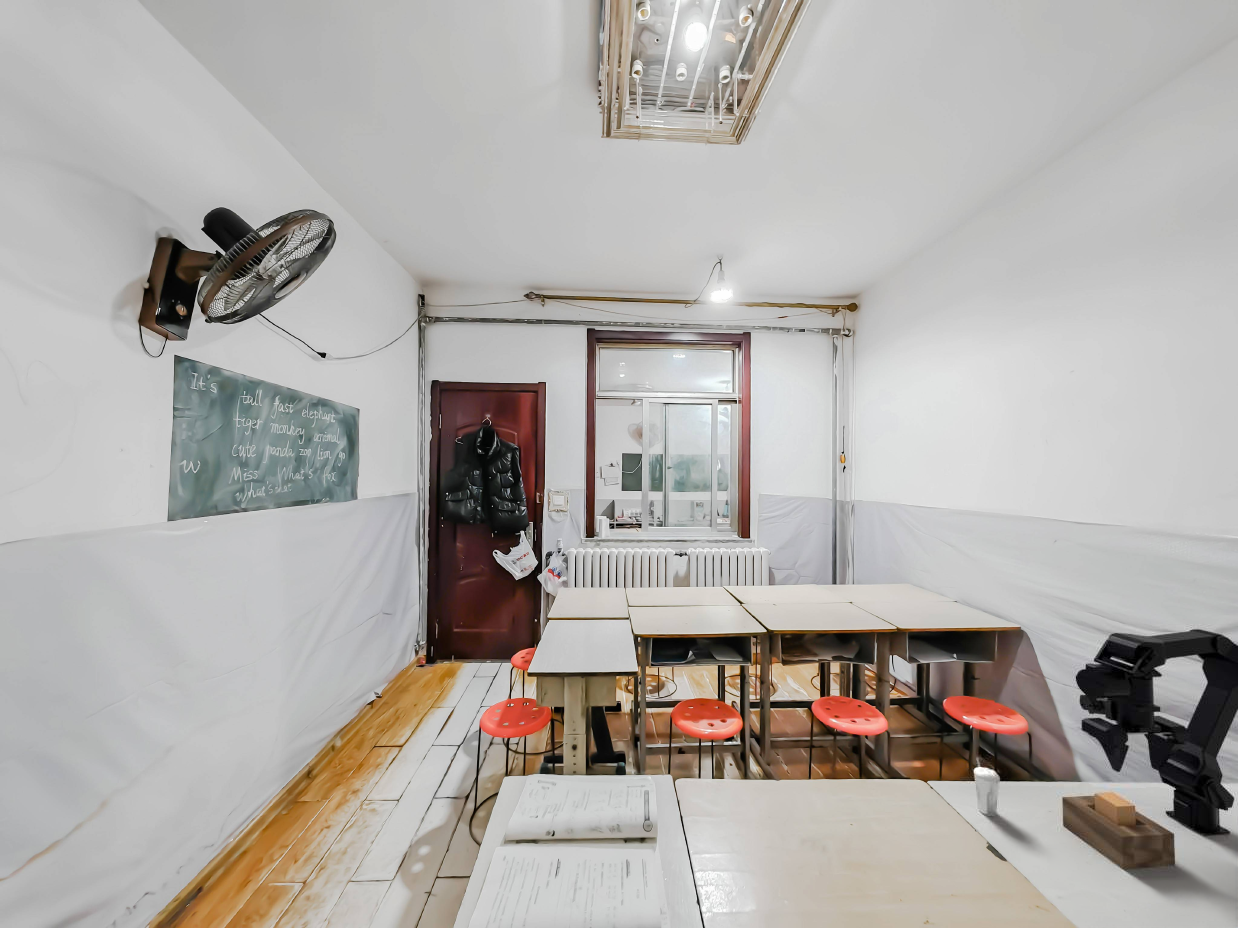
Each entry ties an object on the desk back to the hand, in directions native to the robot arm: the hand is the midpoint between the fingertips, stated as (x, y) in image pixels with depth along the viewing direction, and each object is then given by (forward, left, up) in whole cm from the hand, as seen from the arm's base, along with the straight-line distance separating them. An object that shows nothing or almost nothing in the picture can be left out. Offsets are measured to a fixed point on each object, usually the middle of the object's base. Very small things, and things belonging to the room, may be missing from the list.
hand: (1135, 769), depth 99 cm
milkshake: (+28, -7, -12) cm, 31 cm away
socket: (+10, +4, -12) cm, 16 cm away
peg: (+10, +4, -11) cm, 15 cm away
